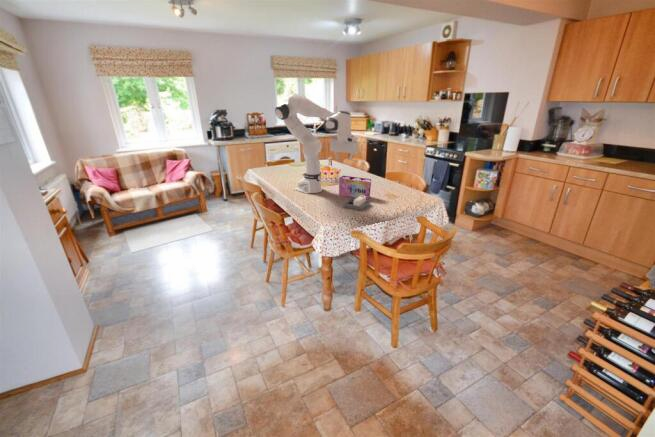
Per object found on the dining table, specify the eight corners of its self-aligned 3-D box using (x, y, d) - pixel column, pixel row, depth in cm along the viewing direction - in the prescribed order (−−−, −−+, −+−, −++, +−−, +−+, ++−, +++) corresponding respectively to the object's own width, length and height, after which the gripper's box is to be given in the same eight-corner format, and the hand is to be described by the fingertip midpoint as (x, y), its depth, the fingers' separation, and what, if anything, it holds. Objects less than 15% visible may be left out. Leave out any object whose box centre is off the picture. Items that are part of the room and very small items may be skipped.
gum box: (371, 196, 221) (373, 179, 215) (368, 200, 214) (369, 182, 209) (342, 192, 231) (343, 175, 226) (338, 195, 225) (338, 177, 219)
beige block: (353, 207, 199) (353, 199, 196) (360, 203, 207) (360, 194, 205) (358, 209, 197) (359, 200, 194) (365, 204, 205) (366, 195, 203)
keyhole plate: (342, 207, 201) (343, 203, 200) (352, 201, 212) (352, 197, 211) (361, 211, 194) (361, 207, 193) (370, 204, 205) (370, 201, 204)
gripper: (327, 137, 193) (327, 158, 199) (355, 139, 183) (355, 161, 189) (332, 136, 198) (332, 156, 204) (360, 138, 188) (359, 159, 194)
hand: (343, 159), depth 196 cm, fingers open, 8 cm apart
